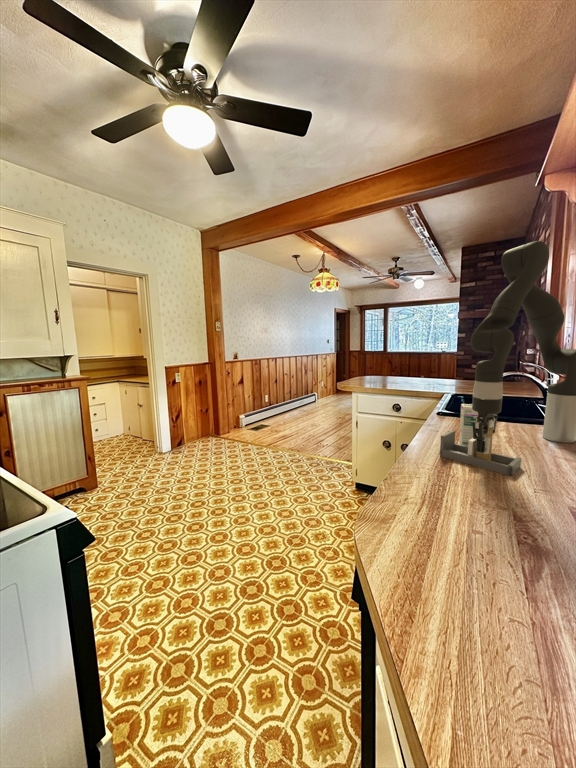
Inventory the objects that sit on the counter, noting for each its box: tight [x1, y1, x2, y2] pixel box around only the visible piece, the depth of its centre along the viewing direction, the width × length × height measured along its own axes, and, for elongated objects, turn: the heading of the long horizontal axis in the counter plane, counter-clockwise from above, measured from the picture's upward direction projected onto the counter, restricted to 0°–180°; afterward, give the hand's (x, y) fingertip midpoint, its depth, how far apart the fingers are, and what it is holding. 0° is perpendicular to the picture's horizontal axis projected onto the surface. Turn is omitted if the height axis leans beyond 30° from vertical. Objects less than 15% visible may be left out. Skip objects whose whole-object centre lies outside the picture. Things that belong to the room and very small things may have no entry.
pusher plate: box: [468, 438, 476, 456], centre depth 99 cm, size 6×1×5 cm, turn 130°
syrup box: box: [458, 403, 478, 446], centre depth 112 cm, size 6×6×14 cm
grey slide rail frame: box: [439, 429, 522, 477], centre depth 98 cm, size 8×20×7 cm, turn 40°
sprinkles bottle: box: [475, 420, 494, 461], centre depth 96 cm, size 5×5×13 cm
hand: (483, 449), depth 97 cm, fingers closed on sprinkles bottle, 4 cm apart
